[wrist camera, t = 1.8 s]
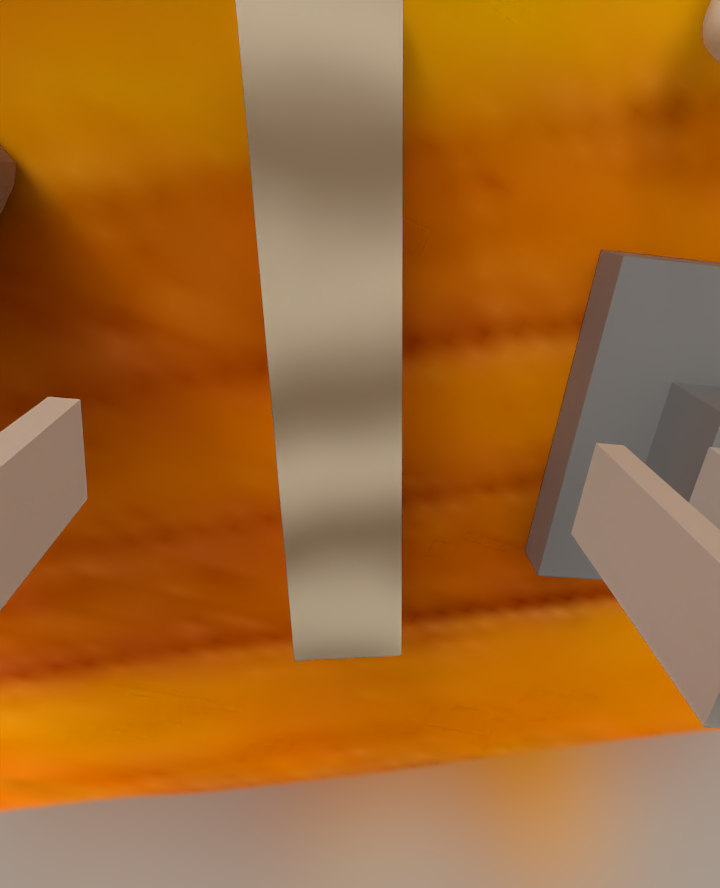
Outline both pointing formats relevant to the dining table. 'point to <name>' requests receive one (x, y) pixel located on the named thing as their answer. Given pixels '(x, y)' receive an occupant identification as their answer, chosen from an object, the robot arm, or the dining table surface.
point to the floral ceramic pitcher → (712, 29)
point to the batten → (332, 305)
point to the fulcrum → (636, 395)
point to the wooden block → (6, 176)
